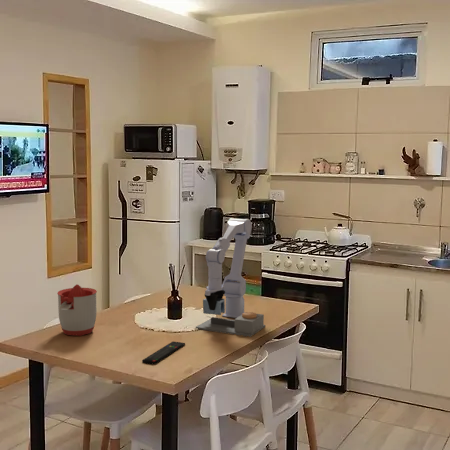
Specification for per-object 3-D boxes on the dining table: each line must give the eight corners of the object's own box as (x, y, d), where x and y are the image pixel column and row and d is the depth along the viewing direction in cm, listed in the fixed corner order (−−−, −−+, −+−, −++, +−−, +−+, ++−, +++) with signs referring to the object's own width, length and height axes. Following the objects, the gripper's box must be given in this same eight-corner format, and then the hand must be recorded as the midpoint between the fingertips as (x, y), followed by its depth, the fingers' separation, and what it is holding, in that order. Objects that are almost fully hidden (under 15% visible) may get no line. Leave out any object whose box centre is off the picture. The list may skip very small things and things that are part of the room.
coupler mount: (212, 319, 276) (212, 303, 275) (265, 326, 265) (265, 310, 264) (195, 328, 261) (195, 312, 261) (250, 336, 251) (250, 320, 250)
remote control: (185, 346, 240) (185, 342, 240) (154, 366, 218) (154, 362, 218) (172, 344, 242) (172, 341, 242) (141, 364, 220) (141, 360, 220)
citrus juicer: (47, 336, 249) (46, 287, 247) (72, 325, 265) (71, 279, 263) (81, 341, 244) (80, 291, 241) (104, 329, 260) (103, 282, 258)
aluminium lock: (208, 310, 270) (207, 295, 269) (224, 312, 266) (224, 297, 266) (203, 313, 266) (202, 298, 265) (220, 315, 262) (219, 299, 261)
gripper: (214, 273, 272) (214, 303, 274) (198, 279, 259) (198, 311, 261) (228, 274, 269) (228, 305, 271) (213, 281, 256) (213, 313, 258)
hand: (214, 308), depth 266 cm, fingers closed on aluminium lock, 5 cm apart
